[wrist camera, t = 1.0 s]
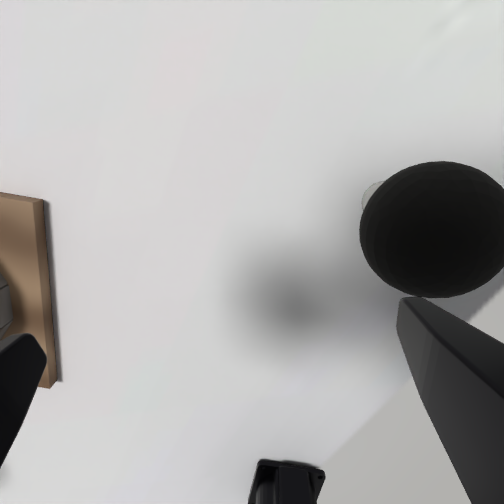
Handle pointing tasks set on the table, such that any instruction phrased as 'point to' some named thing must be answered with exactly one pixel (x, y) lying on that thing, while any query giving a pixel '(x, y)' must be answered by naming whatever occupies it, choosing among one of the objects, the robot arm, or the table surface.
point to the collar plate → (26, 276)
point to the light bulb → (434, 229)
